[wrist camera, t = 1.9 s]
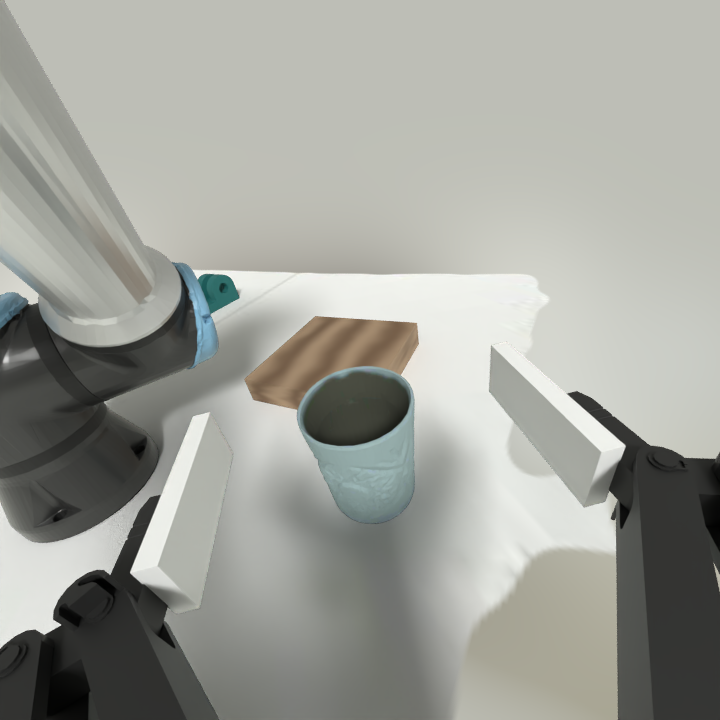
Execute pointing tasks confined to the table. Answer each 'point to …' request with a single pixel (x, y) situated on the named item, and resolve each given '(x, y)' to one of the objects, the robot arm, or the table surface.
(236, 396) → the table surface
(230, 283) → the bracket
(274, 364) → the walnut riser
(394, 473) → the blue green cup
